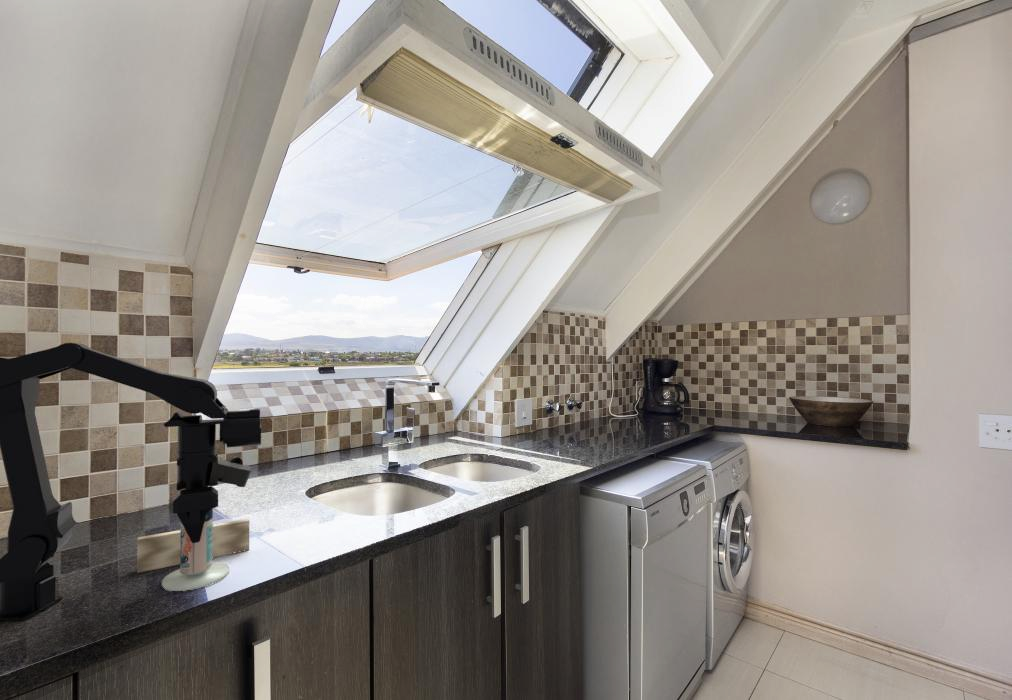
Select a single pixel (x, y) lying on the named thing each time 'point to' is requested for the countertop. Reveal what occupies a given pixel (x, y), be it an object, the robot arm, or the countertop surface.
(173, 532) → the birch screen
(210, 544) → the beer can
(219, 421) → the robot arm
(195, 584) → the sage pad
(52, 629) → the countertop surface
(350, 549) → the countertop surface
